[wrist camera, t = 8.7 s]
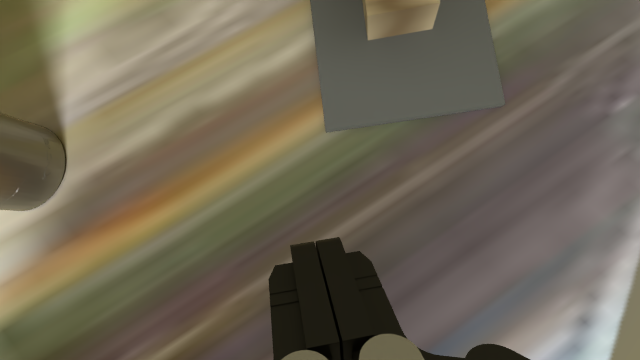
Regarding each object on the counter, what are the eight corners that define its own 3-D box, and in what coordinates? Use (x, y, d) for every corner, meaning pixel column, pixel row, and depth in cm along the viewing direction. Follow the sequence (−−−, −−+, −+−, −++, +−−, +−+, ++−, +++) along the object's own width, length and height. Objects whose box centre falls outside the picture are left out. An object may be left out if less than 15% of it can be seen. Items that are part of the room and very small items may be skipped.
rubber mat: (326, 132, 35) (325, 130, 34) (300, -84, 38) (299, -89, 38) (502, 106, 33) (505, 104, 32) (458, -119, 36) (459, -125, 36)
